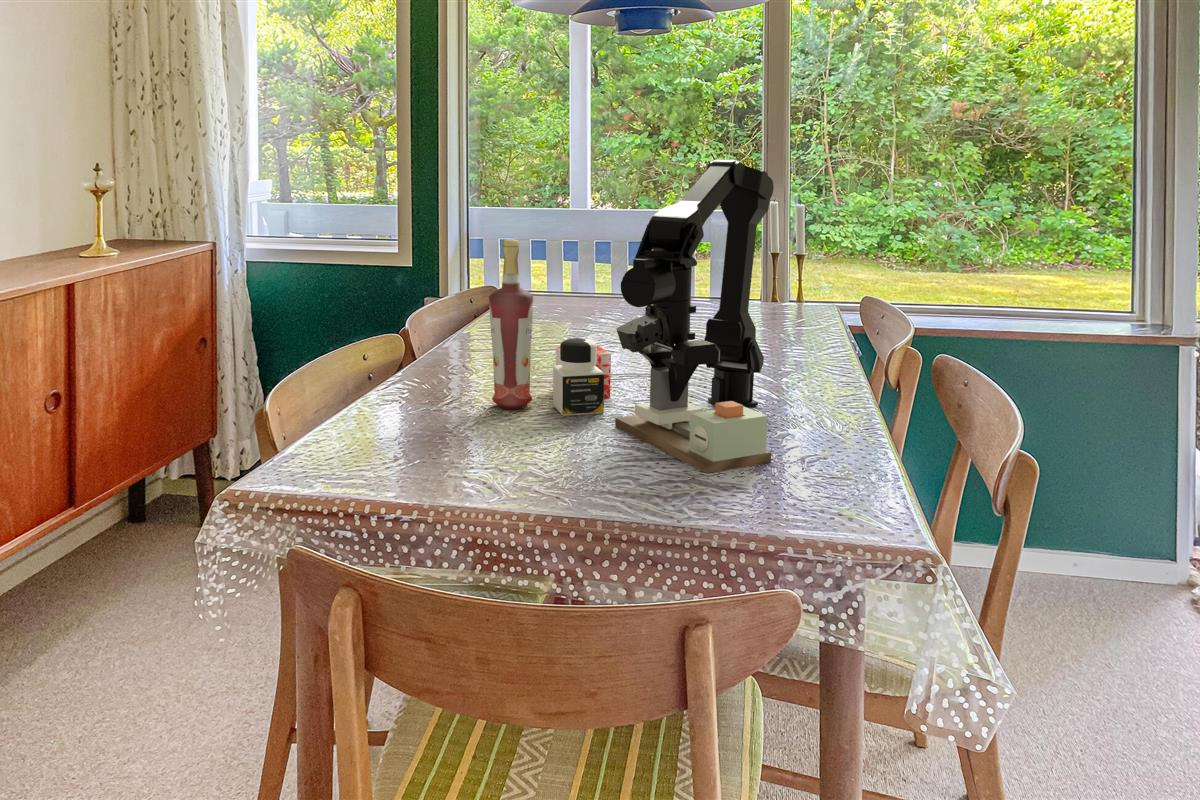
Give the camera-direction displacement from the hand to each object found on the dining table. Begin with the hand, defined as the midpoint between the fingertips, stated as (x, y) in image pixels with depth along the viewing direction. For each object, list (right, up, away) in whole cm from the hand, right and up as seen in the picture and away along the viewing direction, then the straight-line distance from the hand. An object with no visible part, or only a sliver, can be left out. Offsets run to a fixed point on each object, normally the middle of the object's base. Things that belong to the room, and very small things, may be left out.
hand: (669, 398), depth 162 cm
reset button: (+8, -5, -13) cm, 16 cm away
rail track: (+3, -7, -4) cm, 8 cm away
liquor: (-26, -1, +17) cm, 31 cm away
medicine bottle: (-14, -2, +15) cm, 21 cm away
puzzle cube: (-14, +1, +26) cm, 30 cm away
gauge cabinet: (+7, -8, -13) cm, 17 cm away
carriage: (0, -3, +1) cm, 3 cm away
